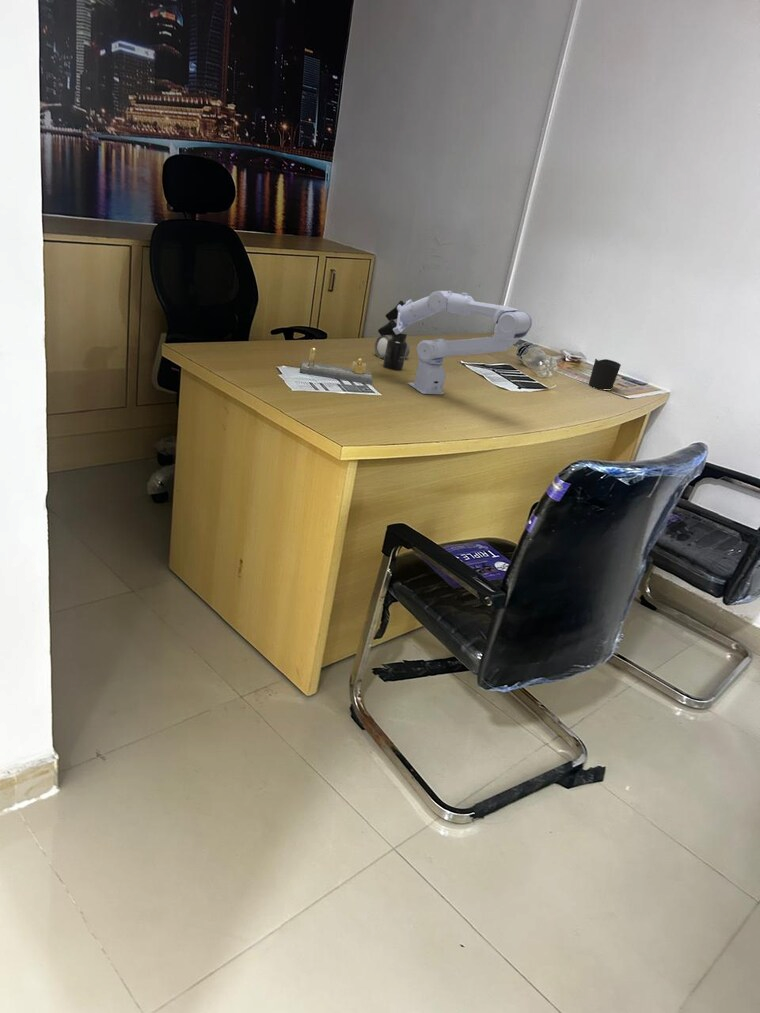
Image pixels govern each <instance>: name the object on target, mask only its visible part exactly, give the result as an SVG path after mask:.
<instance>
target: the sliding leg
mask: <svg viewBox="0 0 760 1013" xmlns="http://www.w3.org/2000/svg"><path fill="white" fill-rule="evenodd" d="M351 369H352V372H355V373H359V374H365V371H367V363H366V362H363V358H361V357H358V358H357V361H354V360H353V361H352V365H351Z"/></svg>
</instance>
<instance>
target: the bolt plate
mask: <svg viewBox="0 0 760 1013" xmlns="http://www.w3.org/2000/svg"><path fill="white" fill-rule="evenodd" d="M316 355H317V348H316V347H311V348H310V349H309V359H308V360H301V366H300V371H299V373H300V372H302V373H301V374H305V373H308V374H307V375H311V374H312V375H313V376H316V377H317V376H319V377H324V378H328V379H330V378H331V379H336V380H342V381H348V382H354V383H361V384H366V385H373V375H372V373H373V372H372V371H368V370H365V374H359V373H355V372H352V367H351V368H349V367H343V366H338V365H332V364H325V363H320V362H316Z"/></svg>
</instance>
